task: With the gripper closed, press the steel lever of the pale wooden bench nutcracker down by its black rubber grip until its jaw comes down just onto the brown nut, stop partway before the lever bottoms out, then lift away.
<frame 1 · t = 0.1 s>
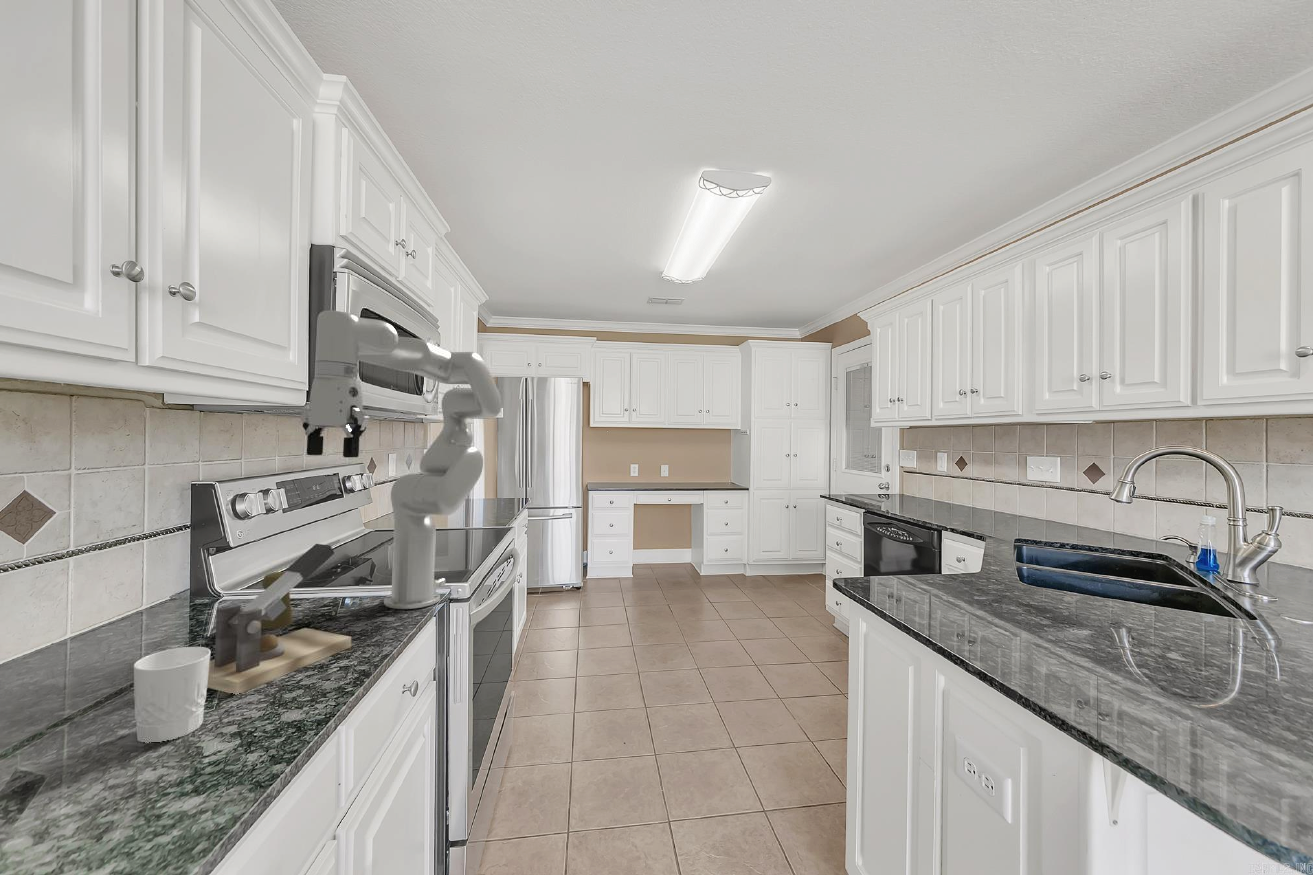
hand: (332, 456, 110), 37 cm above the worktop, tool pointing down, fingers open, 9 cm apart
nutcracker base: (274, 662, 96), on the worktop
white cup: (170, 731, 74), on the worktop
lever: (286, 588, 97), point 13 cm above the worktop, hinge at 32.0°
cork: (275, 625, 114), on the worktop
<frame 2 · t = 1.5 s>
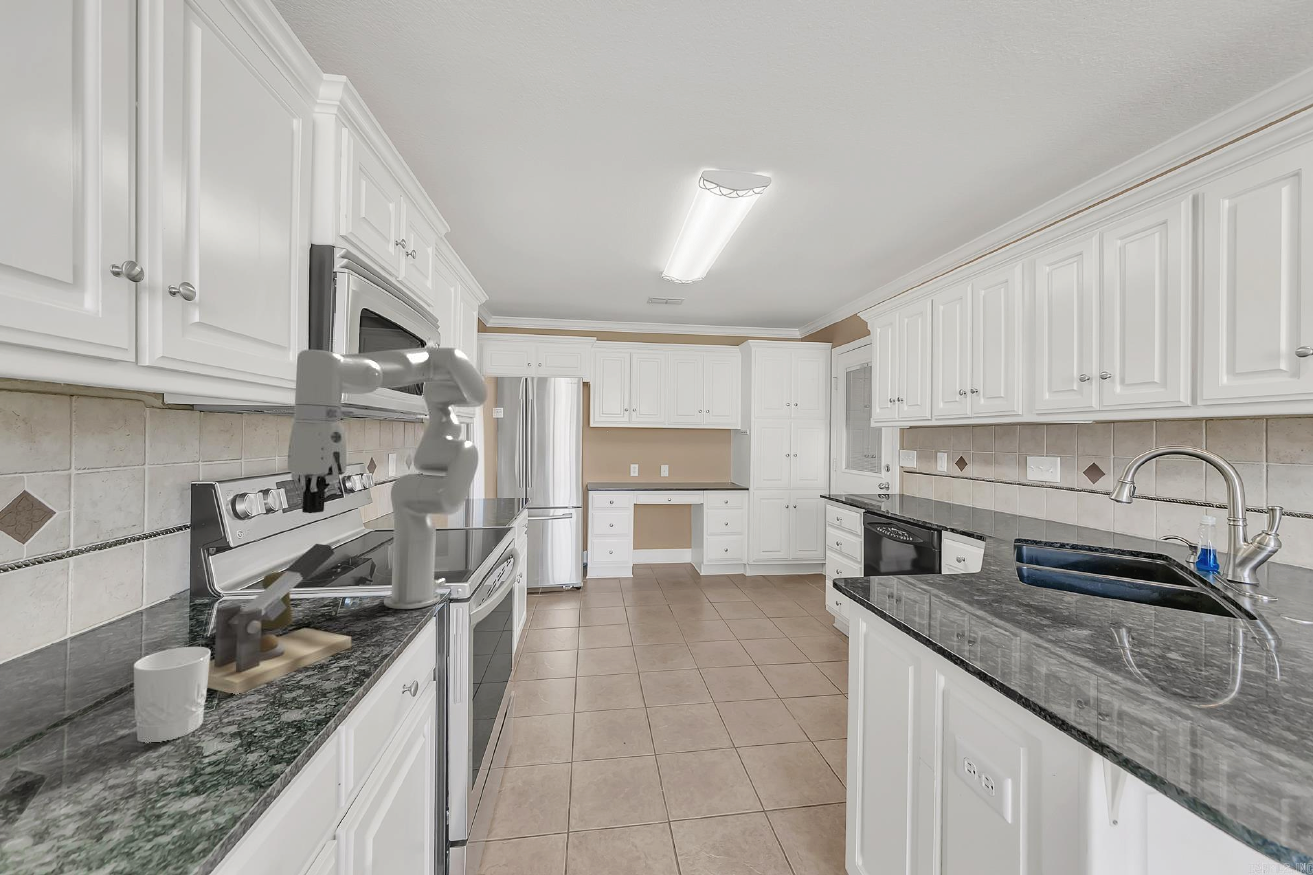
hand: (313, 511, 102), 26 cm above the worktop, tool pointing down, fingers closed
nothing on the worktop moved.
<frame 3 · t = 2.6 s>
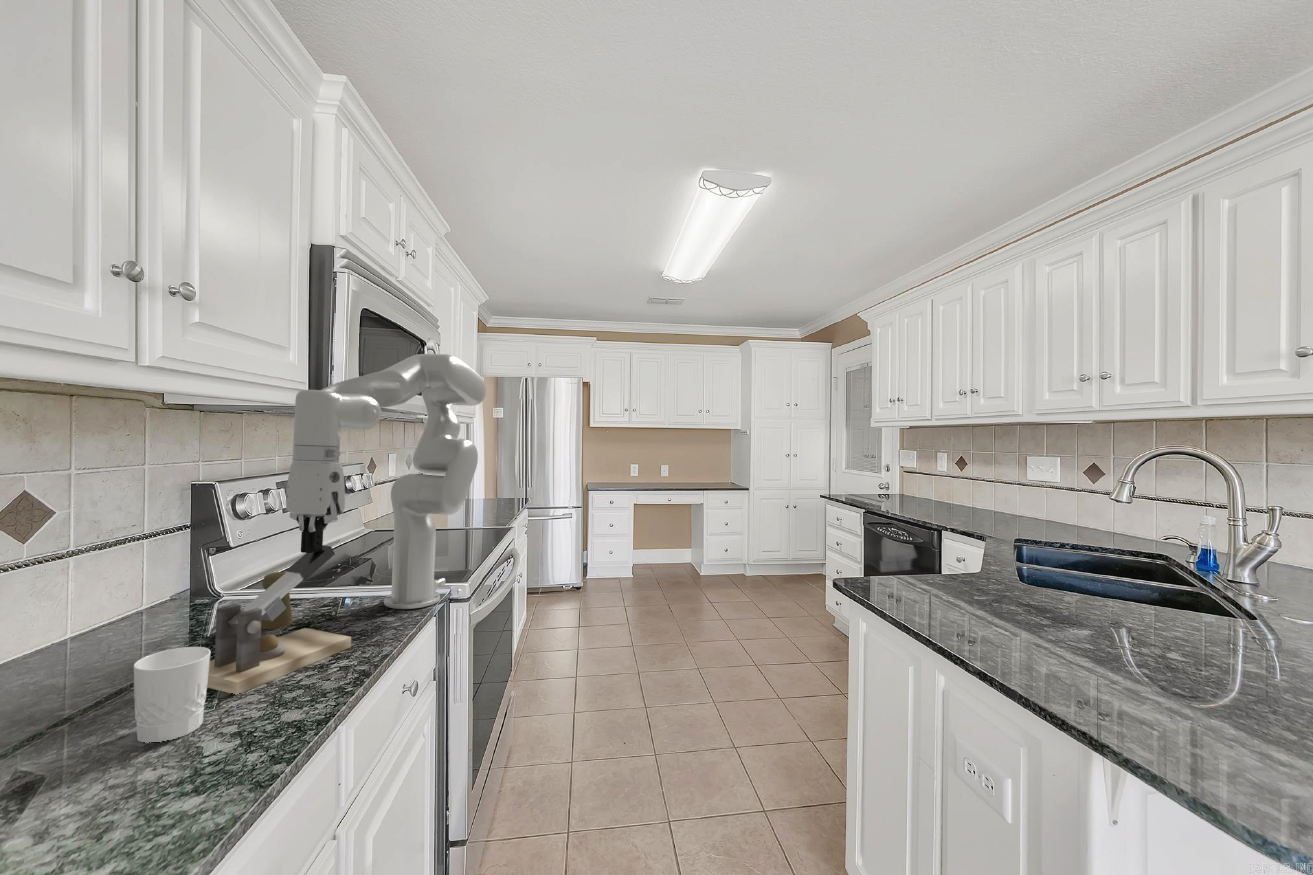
hand: (311, 551, 102), 19 cm above the worktop, tool pointing down, fingers closed
lever: (287, 588, 97), point 13 cm above the worktop, hinge at 31.3°, touching gripper
everything else where it was.
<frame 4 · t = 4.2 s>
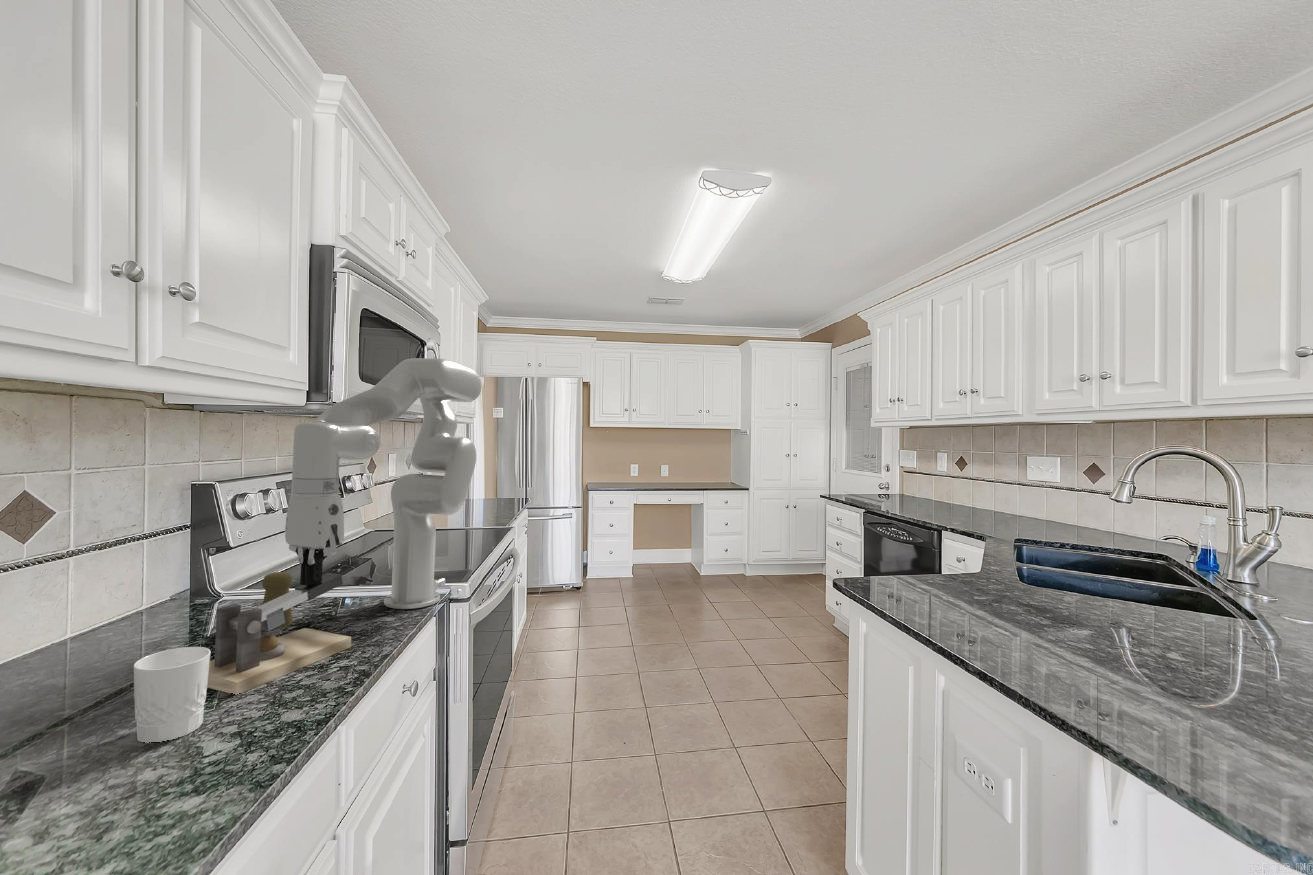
hand: (311, 583, 102), 13 cm above the worktop, tool pointing down, fingers closed
lever: (290, 604, 98), point 10 cm above the worktop, hinge at 10.5°, touching gripper
everything else where it was.
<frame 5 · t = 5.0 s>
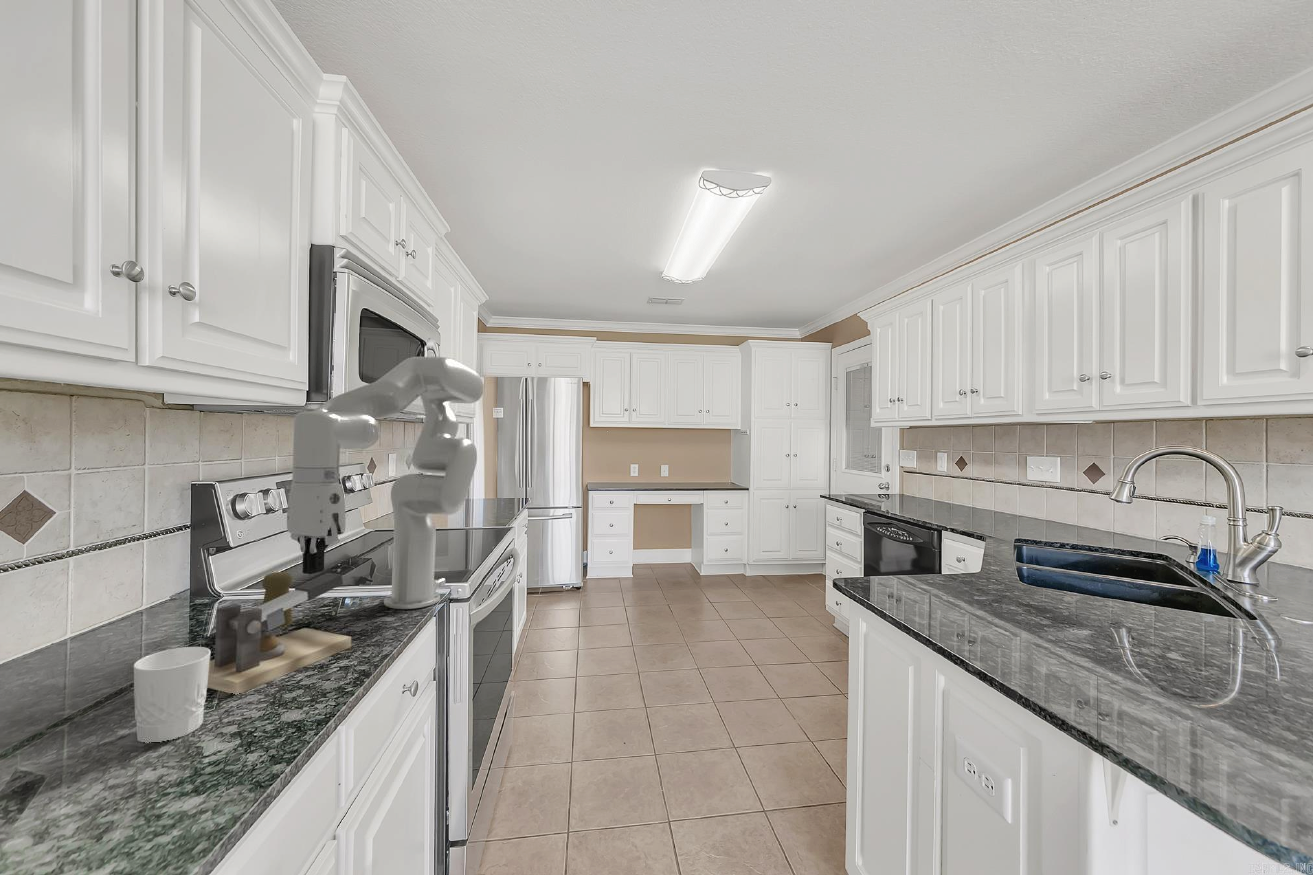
hand: (313, 572, 102), 15 cm above the worktop, tool pointing down, fingers closed
lever: (290, 604, 98), point 10 cm above the worktop, hinge at 10.5°
everything else where it was.
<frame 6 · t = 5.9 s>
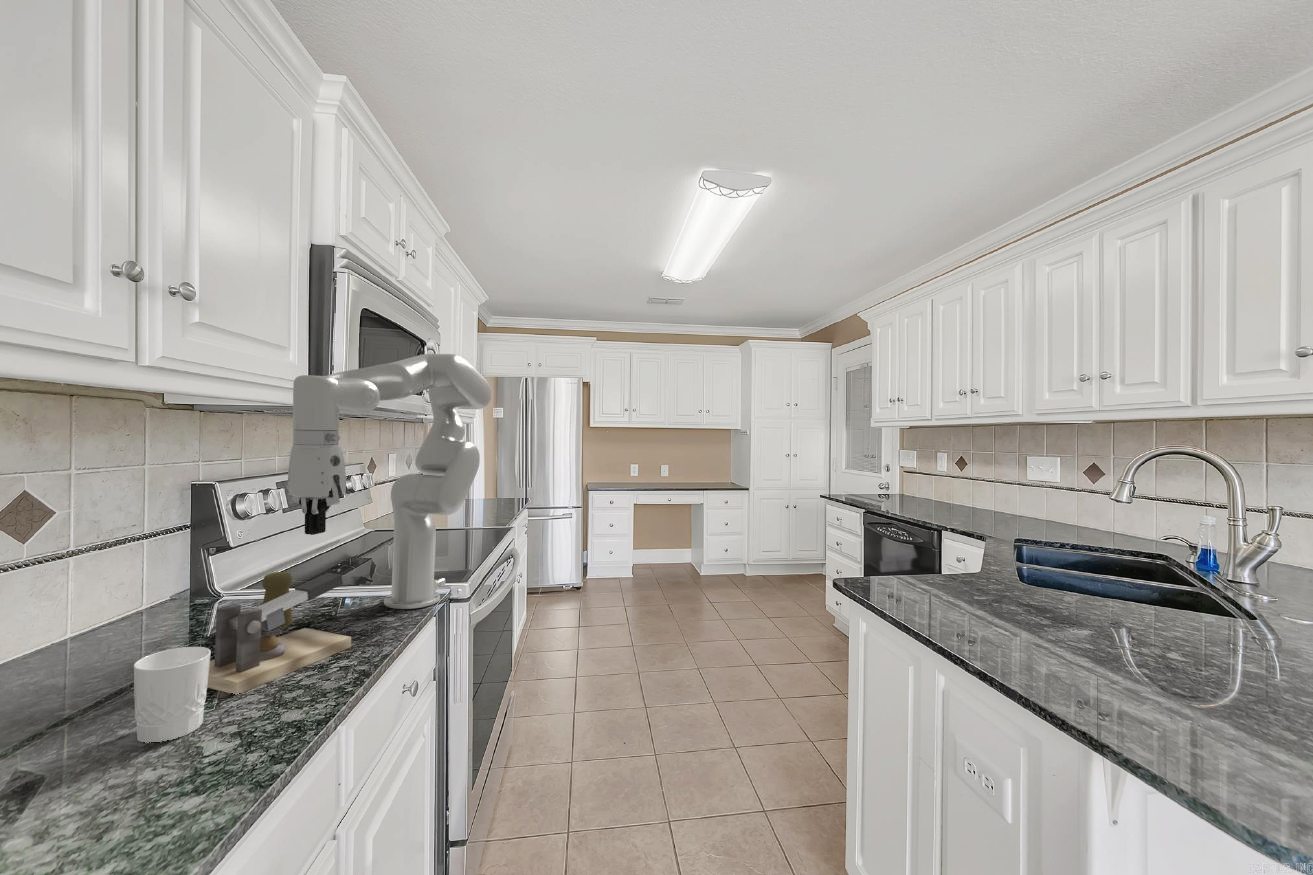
hand: (315, 533, 104), 22 cm above the worktop, tool pointing down, fingers closed
nothing on the worktop moved.
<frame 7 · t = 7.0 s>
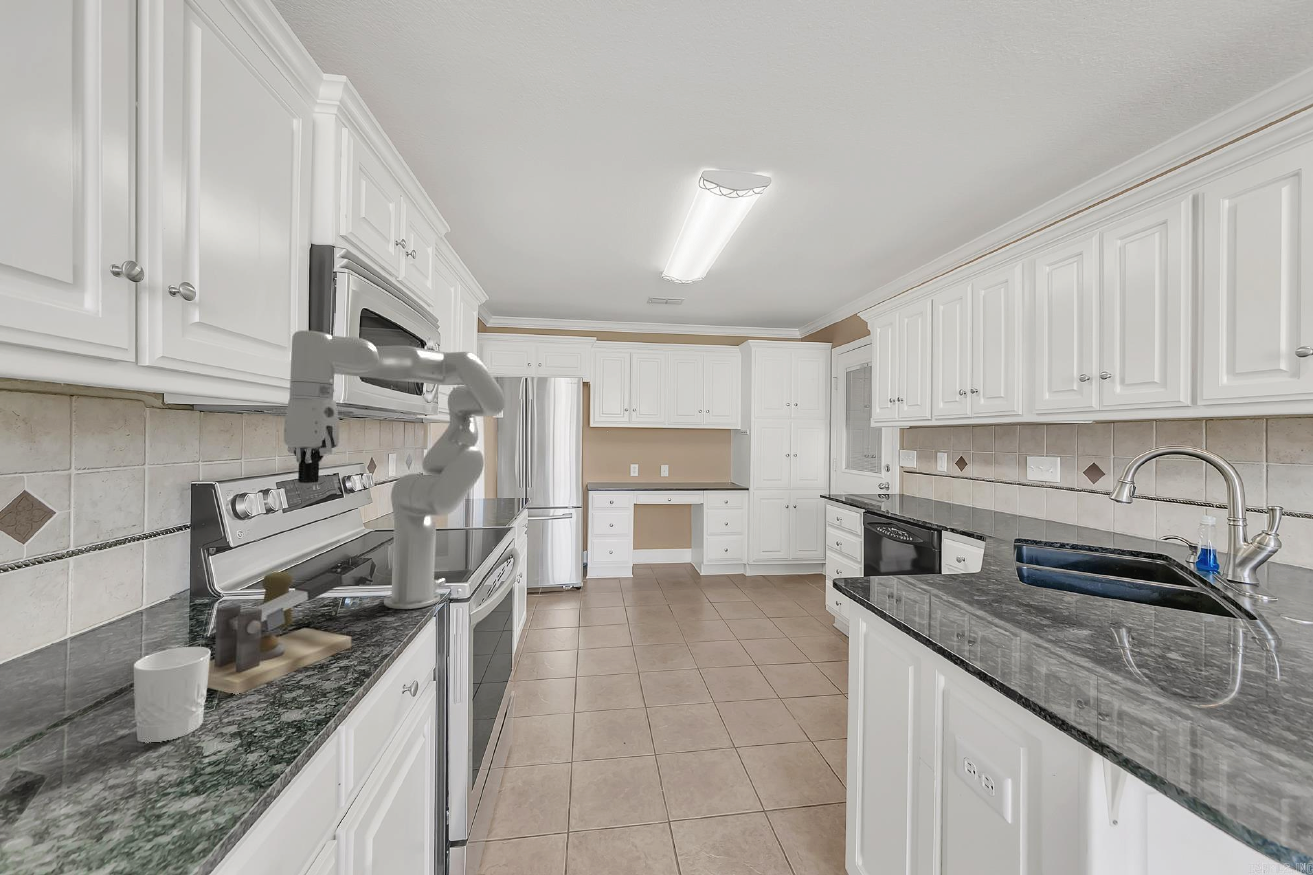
hand: (308, 482, 109), 31 cm above the worktop, tool pointing down, fingers closed
nothing on the worktop moved.
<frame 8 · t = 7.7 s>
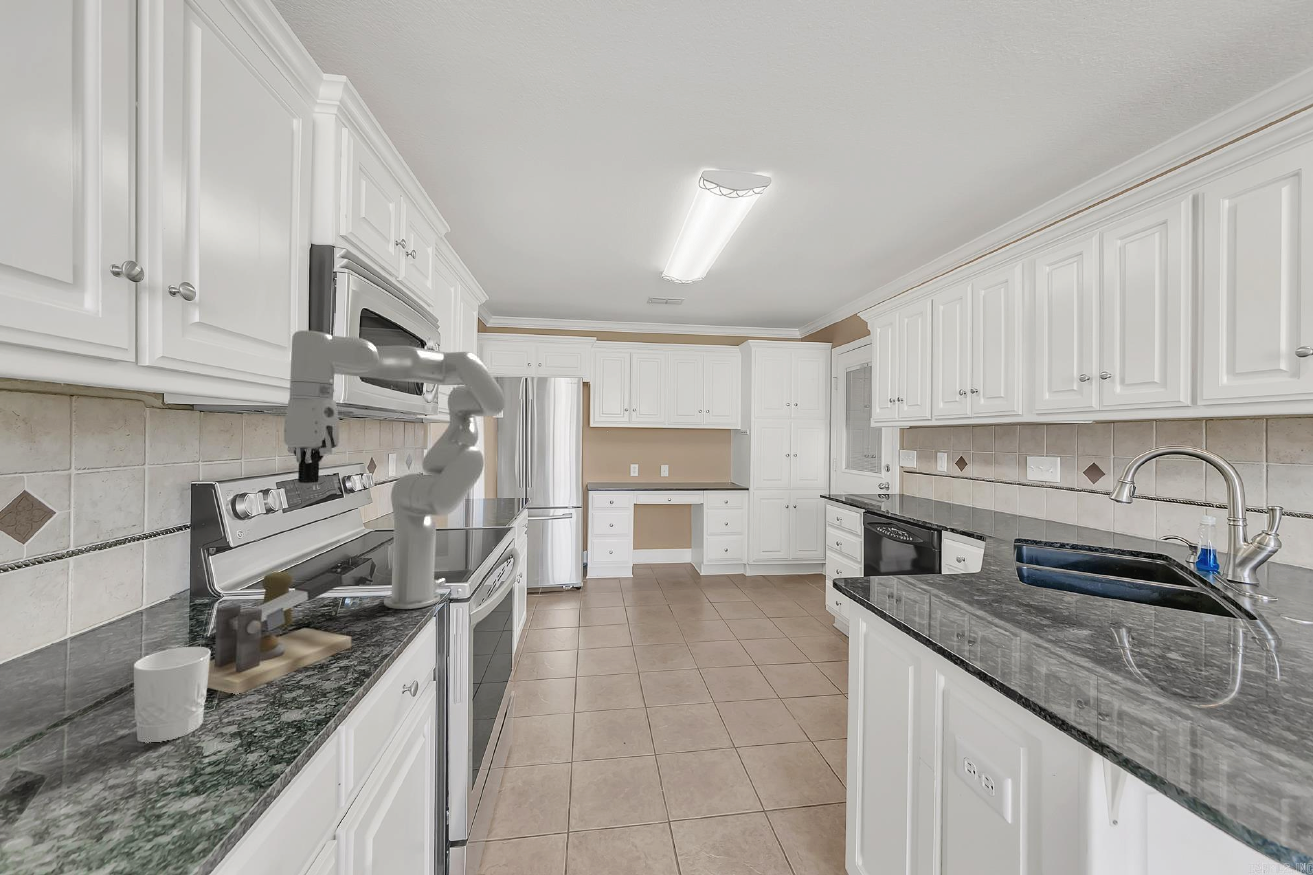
hand: (308, 482, 109), 31 cm above the worktop, tool pointing down, fingers closed
nothing on the worktop moved.
at the end: lever at +10° (first picture: +32°); the gripper is holding nothing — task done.
